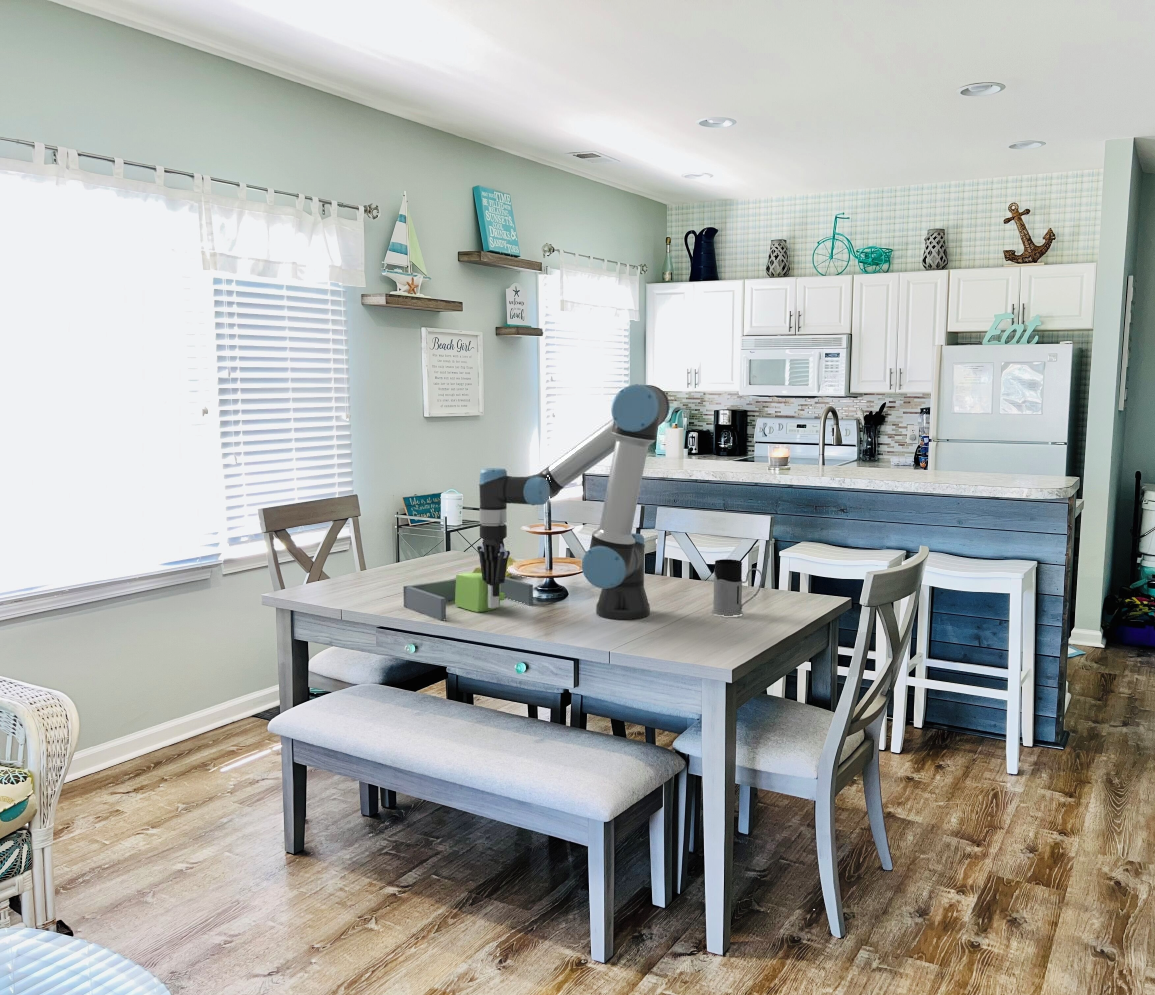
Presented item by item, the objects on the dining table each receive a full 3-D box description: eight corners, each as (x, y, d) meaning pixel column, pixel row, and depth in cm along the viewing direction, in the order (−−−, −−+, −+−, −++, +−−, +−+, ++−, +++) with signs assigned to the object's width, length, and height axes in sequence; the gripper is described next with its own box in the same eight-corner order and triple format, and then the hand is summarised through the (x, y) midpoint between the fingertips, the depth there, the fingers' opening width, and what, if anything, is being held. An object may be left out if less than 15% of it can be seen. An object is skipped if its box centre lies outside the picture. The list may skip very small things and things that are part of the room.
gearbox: (514, 612, 269) (516, 579, 268) (487, 616, 262) (489, 582, 261) (475, 600, 281) (476, 569, 280) (448, 604, 274) (450, 572, 273)
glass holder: (717, 609, 271) (718, 557, 269) (765, 614, 265) (767, 562, 263) (707, 615, 263) (708, 562, 262) (756, 621, 257) (757, 567, 255)
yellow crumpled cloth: (499, 579, 301) (473, 564, 303) (491, 598, 303) (465, 583, 305) (522, 564, 320) (497, 550, 322) (514, 582, 322) (490, 568, 324)
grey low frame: (532, 604, 276) (532, 584, 275) (441, 620, 256) (440, 598, 256) (492, 592, 292) (492, 573, 291) (403, 606, 272) (403, 586, 272)
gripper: (517, 525, 258) (517, 609, 261) (491, 520, 268) (491, 601, 271) (495, 527, 254) (495, 613, 256) (469, 522, 264) (469, 604, 266)
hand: (493, 607), depth 264 cm, fingers closed
